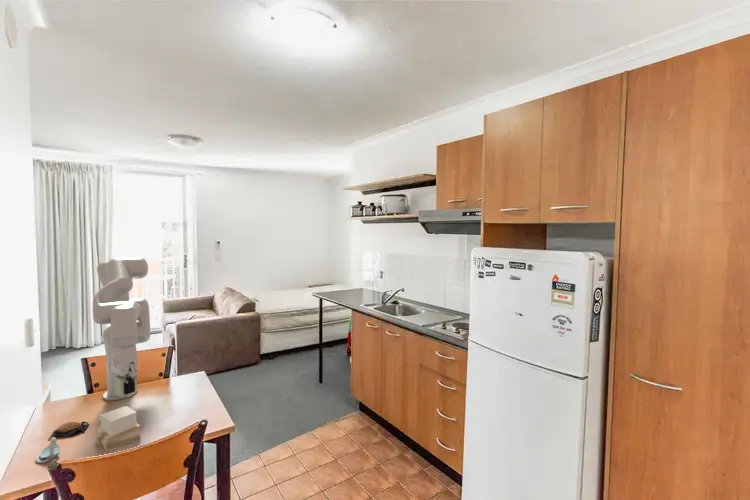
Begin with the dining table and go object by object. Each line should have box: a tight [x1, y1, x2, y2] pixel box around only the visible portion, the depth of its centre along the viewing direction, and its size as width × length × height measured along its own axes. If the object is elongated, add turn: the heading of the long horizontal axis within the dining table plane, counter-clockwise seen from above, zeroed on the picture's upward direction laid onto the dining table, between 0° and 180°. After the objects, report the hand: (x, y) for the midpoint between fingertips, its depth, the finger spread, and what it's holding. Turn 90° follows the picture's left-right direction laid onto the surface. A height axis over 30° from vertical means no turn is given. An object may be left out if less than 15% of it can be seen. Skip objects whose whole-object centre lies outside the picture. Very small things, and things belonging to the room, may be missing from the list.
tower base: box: [95, 423, 141, 453], centre depth 129 cm, size 10×10×5 cm
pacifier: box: [35, 437, 61, 464], centre depth 118 cm, size 7×6×6 cm
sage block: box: [114, 372, 138, 397], centre depth 129 cm, size 5×5×6 cm
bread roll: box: [47, 421, 90, 442], centre depth 133 cm, size 11×8×4 cm
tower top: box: [99, 405, 138, 436], centre depth 128 cm, size 8×8×5 cm
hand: (125, 390), depth 129 cm, fingers closed on sage block, 5 cm apart
